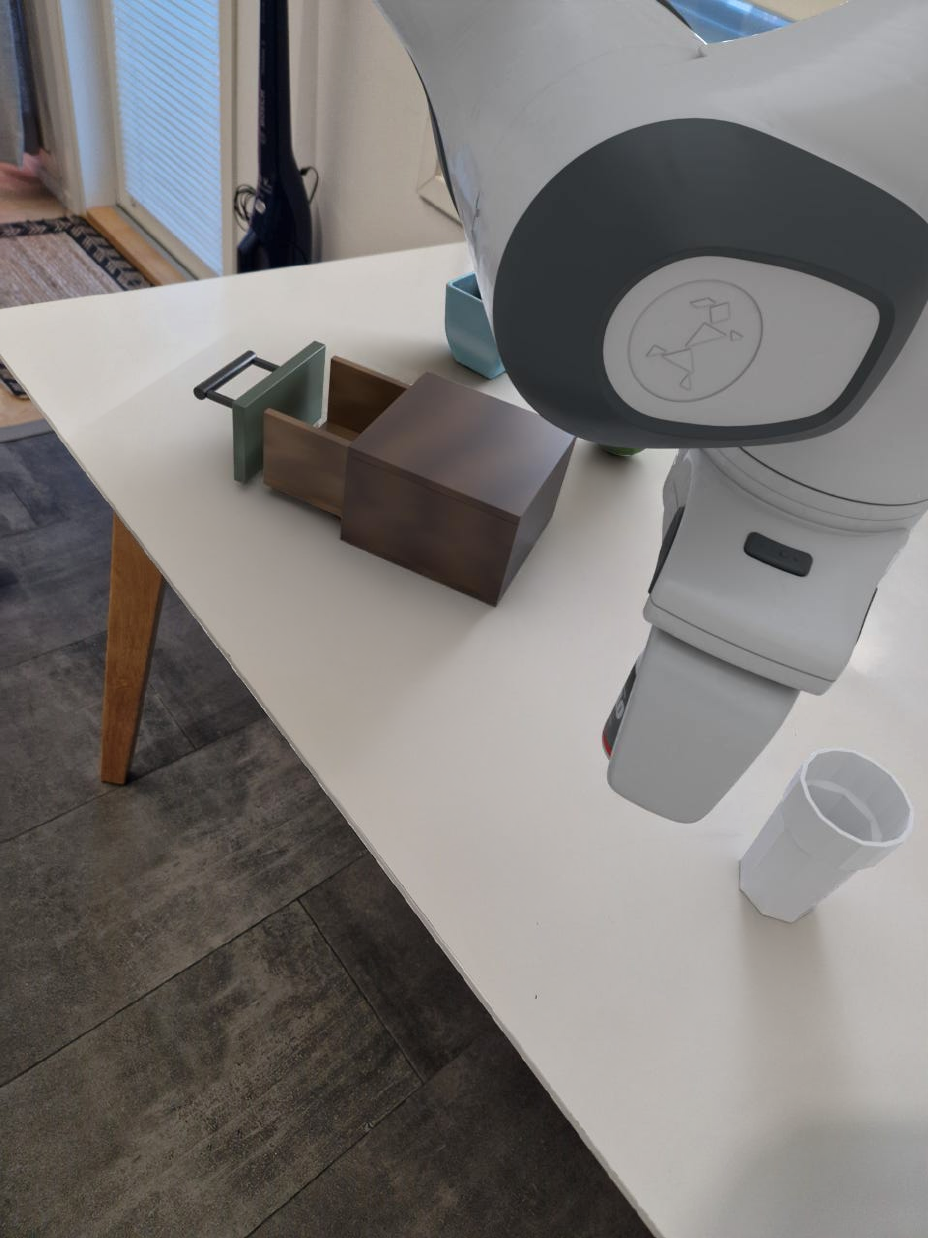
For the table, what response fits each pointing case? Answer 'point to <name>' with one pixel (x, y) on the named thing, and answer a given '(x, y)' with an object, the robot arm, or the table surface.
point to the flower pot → (470, 327)
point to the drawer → (301, 421)
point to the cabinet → (454, 485)
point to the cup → (825, 832)
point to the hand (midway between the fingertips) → (663, 714)
